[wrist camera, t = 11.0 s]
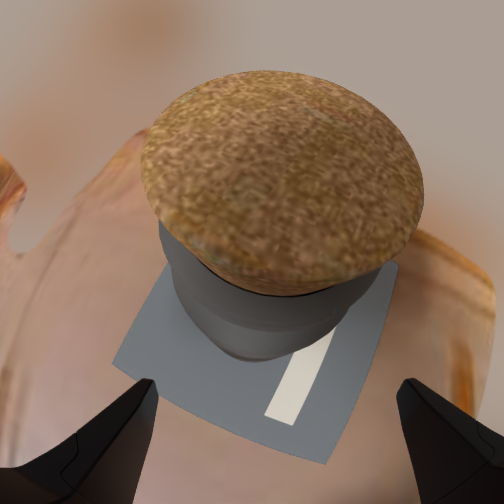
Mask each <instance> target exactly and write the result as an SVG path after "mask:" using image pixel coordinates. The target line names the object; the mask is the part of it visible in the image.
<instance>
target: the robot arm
mask: <svg viewBox="0 0 504 504" xmlns="http://www.w3.org/2000/svg"><path fill="white" fill-rule="evenodd" d="M158 398H159V396H158V391H157V388H156V384H155V381H154V380H153V379H148V378H142V379H140V380H139V381H138V382H137V383H136V384H134V385H133V386H132V387H131V388H130V389H128V390H127V391H126V392H125V393H124V394H122V395H121V396H120V397H119V398H117V399H116V400H115V401H114V402H113V403H111V404H110V405H109V406H108V407H106V408H105V409H104V410H103V411H101V412H100V413H99V414H98V415H96V416H95V417H94V418H93V419H91V420H90V421H89V422H88V423H86V424H85V425H84V426H83V427H81V428H80V429H79V430H78V431H77V432H76V433H74V434H72V435H71V436H70V437H69V438H67V439H66V440H64V441H63V442H62V443H60V444H59V445H57V446H56V447H54V448H53V449H51V450H49V451H48V452H46V453H44V454H43V455H41V456H39V457H37V458H35V459H34V460H32V461H30V462H28V463H26V464H24V465H22V466H19V467H14V468H0V504H132V503H133V500H134V496H135V492H136V489H137V485H138V482H139V478H140V475H141V471H142V468H143V464H144V461H145V457H146V454H147V451H148V447H149V444H150V441H151V437H152V433H153V427H154V421H155V416H156V410H157V405H158ZM396 400H397V404H398V409H399V414H400V420H401V425H402V430H403V433H404V437H405V440H406V444H407V447H408V451H409V455H410V458H411V462H412V466H413V470H414V474H415V478H416V482H417V486H418V491H419V495H420V500H421V504H504V437H503V436H501V435H500V434H498V433H496V432H494V431H492V430H491V429H489V428H487V427H486V426H484V425H483V424H481V423H480V422H478V421H476V420H475V419H474V418H472V417H471V416H469V415H468V414H466V413H465V412H463V411H462V410H461V409H459V408H458V407H456V406H455V405H453V404H452V403H450V402H449V401H447V400H446V399H444V398H443V397H442V396H440V395H439V394H437V393H436V392H434V391H433V390H431V389H430V388H428V387H427V386H426V385H424V384H423V383H421V382H420V381H418V380H417V379H415V378H409V379H405V380H404V381H403V383H402V385H401V387H400V389H399V390H398V392H397V395H396Z"/></svg>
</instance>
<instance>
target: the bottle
mask: <svg viewBox="0 0 504 504" xmlns="http://www.w3.org/2000/svg"><path fill="white" fill-rule="evenodd" d="M141 175H142V182H143V185H144V189H145V192H146V195H147V198H148V201H149V203H150V205H151V207H152V208H153V210H154V212H155V214H156V215H157V217H158V219H159V236H160V240H161V243H162V247H163V250H164V253H165V255H166V258H167V260H168V262H169V264H170V266H171V273H172V279H173V284H174V288H175V291H176V294H177V296H178V298H179V300H180V302H181V304H182V306H183V308H184V310H185V311H186V313H187V315H188V316H189V317H190V318H191V320H192V321H193V322H194V323H195V325H196V326H197V327H198V328H199V329H200V330H201V331H202V332H203V333H204V334H205V335H206V336H207V337H208V338H209V339H210V340H211V341H212V342H213V343H214V344H215V345H216V346H217V347H218V348H220V349H221V350H222V351H223V352H224V353H226V354H227V355H229V356H230V357H232V358H234V359H237V360H239V361H243V362H250V363H259V362H266V361H269V360H273V359H276V358H279V357H282V356H286V355H289V354H291V353H294V352H296V351H299V350H301V349H303V348H306V347H308V346H310V345H312V344H314V343H315V342H317V341H318V340H320V339H321V338H323V337H324V336H326V335H327V334H328V333H330V332H331V331H332V330H333V329H334V328H335V327H336V326H337V325H338V323H339V322H340V321H341V320H342V319H343V317H344V316H345V315H346V313H347V312H348V310H349V308H350V306H352V305H353V304H354V303H355V302H356V301H357V300H358V299H360V298H361V297H362V296H363V295H364V294H365V293H366V291H367V290H368V289H369V288H370V286H371V285H372V284H373V282H374V281H375V279H376V277H377V276H378V274H379V272H380V270H381V268H382V266H383V265H384V264H385V263H386V262H388V261H389V260H390V259H392V258H393V257H394V256H396V255H397V254H398V253H399V252H400V251H401V250H402V249H403V248H404V246H405V245H406V244H407V243H408V241H409V240H410V238H411V236H412V234H413V233H414V231H415V229H416V227H417V225H418V223H419V220H420V217H421V213H422V209H423V204H424V203H423V202H424V188H423V178H422V173H421V170H420V166H419V164H418V162H417V159H416V157H415V155H414V152H413V150H412V148H411V147H410V145H409V144H408V142H407V140H406V139H405V137H404V136H403V134H402V133H401V131H400V130H399V129H398V128H397V127H396V126H395V125H394V124H393V123H392V122H391V120H390V119H389V118H388V117H387V116H386V115H385V114H383V113H382V112H381V111H380V110H379V109H378V108H376V107H375V106H374V105H372V104H371V103H369V102H368V101H366V100H365V99H364V98H362V97H360V96H358V95H357V94H355V93H353V92H351V91H349V90H347V89H345V88H343V87H341V86H339V85H337V84H334V83H332V82H329V81H327V80H323V79H320V78H316V77H312V76H308V75H304V74H300V73H291V72H281V71H250V72H243V73H237V74H231V75H226V76H223V77H220V78H217V79H214V80H211V81H208V82H206V83H203V84H201V85H199V86H196V87H195V88H193V89H191V90H190V91H188V92H186V93H185V94H183V95H182V96H180V97H179V98H177V99H176V100H175V101H173V102H172V103H171V104H170V105H169V106H168V107H167V108H166V109H165V110H164V111H163V112H162V113H161V115H160V116H159V117H158V118H157V120H156V121H155V123H154V124H153V126H152V128H151V130H150V132H149V134H148V136H147V138H146V141H145V143H144V148H143V152H142V156H141Z"/></svg>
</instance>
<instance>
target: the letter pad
mask: <svg viewBox="0 0 504 504" xmlns="http://www.w3.org/2000/svg"><path fill="white" fill-rule="evenodd" d="M398 266H399V264H397V263H395V262H393V261H391V260H389V261H388V262H386V263H385V264H384V265H383V266H382V268H381V270H380V272H379V274H378V276H377V277H376V279H375V281H374V282H373V284H372V285H371V286H370V288H369V289H368V290H367V291H366V293H365V294H364V295H363V296H362V297H361V298H360V299H358V300H357V301H356V302H355V303H354V304H353V305H352V306H350V308H349V310H348V312H347V313H346V315H345V316H344V317H343V319H342V320H341V321H340V322H339V323H338V325H337V326H336V327H335V328H334V329H333V330H332V331H331V332H330V333H328V334H327V335H326V336H324V337H323V338H321V339H320V340H318V341H317V342H315V343H314V344H312V345H310V346H308V347H306V348H303V349H301V350H299V351H296V352H294V353H291V354H289V355H286V356H282V357H279V358H276V359H273V360H269V361H266V362H259V363H250V362H243V361H239V360H237V359H234V358H232V357H230V356H229V355H227V354H226V353H224V352H223V351H222V350H221V349H220V348H218V347H217V346H216V345H215V344H214V343H213V342H212V341H211V340H210V339H209V338H208V337H207V336H206V335H205V334H204V333H203V332H202V331H201V330H200V329H199V328H198V327H197V326H196V325H195V323H194V322H193V321H192V320H191V318H190V317H189V316H188V315H187V313H186V311H185V310H184V308H183V306H182V304H181V302H180V300H179V298H178V296H177V294H176V291H175V288H174V284H173V279H172V273H171V266H170V264H169V262H168V263H167V265H166V267H165V268H164V270H163V272H162V273H161V275H160V277H159V278H158V280H157V282H156V283H155V285H154V287H153V288H152V290H151V292H150V294H149V295H148V297H147V299H146V301H145V302H144V304H143V306H142V308H141V309H140V311H139V313H138V315H137V317H136V318H135V320H134V322H133V324H132V326H131V328H130V329H129V331H128V333H127V335H126V337H125V339H124V341H123V343H122V344H121V346H120V348H119V350H118V352H117V354H116V356H115V358H114V360H113V362H112V364H113V365H114V366H116V367H117V368H118V369H120V370H121V371H123V372H124V373H126V374H127V375H128V376H130V377H131V378H133V379H134V380H136V381H137V382H138V381H139V380H140V379H142V378H148V379H153V380H154V381H155V384H156V388H157V391H158V395H160V396H161V397H163V398H165V399H167V400H168V401H170V402H172V403H173V404H175V405H177V406H179V407H181V408H182V409H184V410H186V411H188V412H190V413H192V414H194V415H196V416H198V417H200V418H202V419H204V420H206V421H208V422H210V423H212V424H214V425H216V426H218V427H220V428H223V429H225V430H227V431H229V432H232V433H234V434H236V435H239V436H241V437H243V438H246V439H248V440H251V441H253V442H256V443H259V444H261V445H264V446H267V447H269V448H272V449H275V450H278V451H281V452H284V453H287V454H290V455H293V456H296V457H300V458H303V459H307V460H310V461H314V462H318V463H322V464H325V465H326V463H327V461H328V459H329V457H330V456H331V454H332V452H333V450H334V448H335V446H336V444H337V442H338V440H339V438H340V436H341V434H342V432H343V430H344V428H345V426H346V424H347V422H348V420H349V417H350V415H351V413H352V411H353V408H354V406H355V404H356V402H357V399H358V397H359V394H360V392H361V389H362V387H363V384H364V382H365V379H366V377H367V374H368V371H369V369H370V366H371V363H372V360H373V357H374V354H375V352H376V349H377V346H378V342H379V339H380V336H381V333H382V330H383V326H384V323H385V319H386V316H387V312H388V309H389V305H390V301H391V297H392V293H393V289H394V285H395V280H396V276H397V271H398Z"/></svg>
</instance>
